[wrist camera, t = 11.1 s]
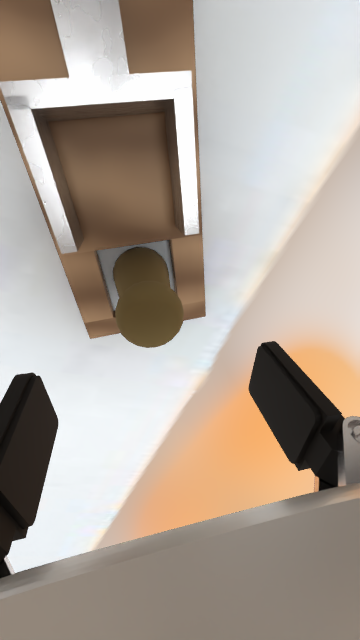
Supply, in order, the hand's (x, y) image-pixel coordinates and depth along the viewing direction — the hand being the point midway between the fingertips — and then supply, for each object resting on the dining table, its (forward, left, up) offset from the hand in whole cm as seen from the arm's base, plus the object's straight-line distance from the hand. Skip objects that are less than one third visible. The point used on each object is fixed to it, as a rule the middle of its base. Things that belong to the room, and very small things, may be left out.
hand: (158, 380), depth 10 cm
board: (-6, 0, -18) cm, 19 cm away
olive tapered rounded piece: (+2, 0, -18) cm, 18 cm away
